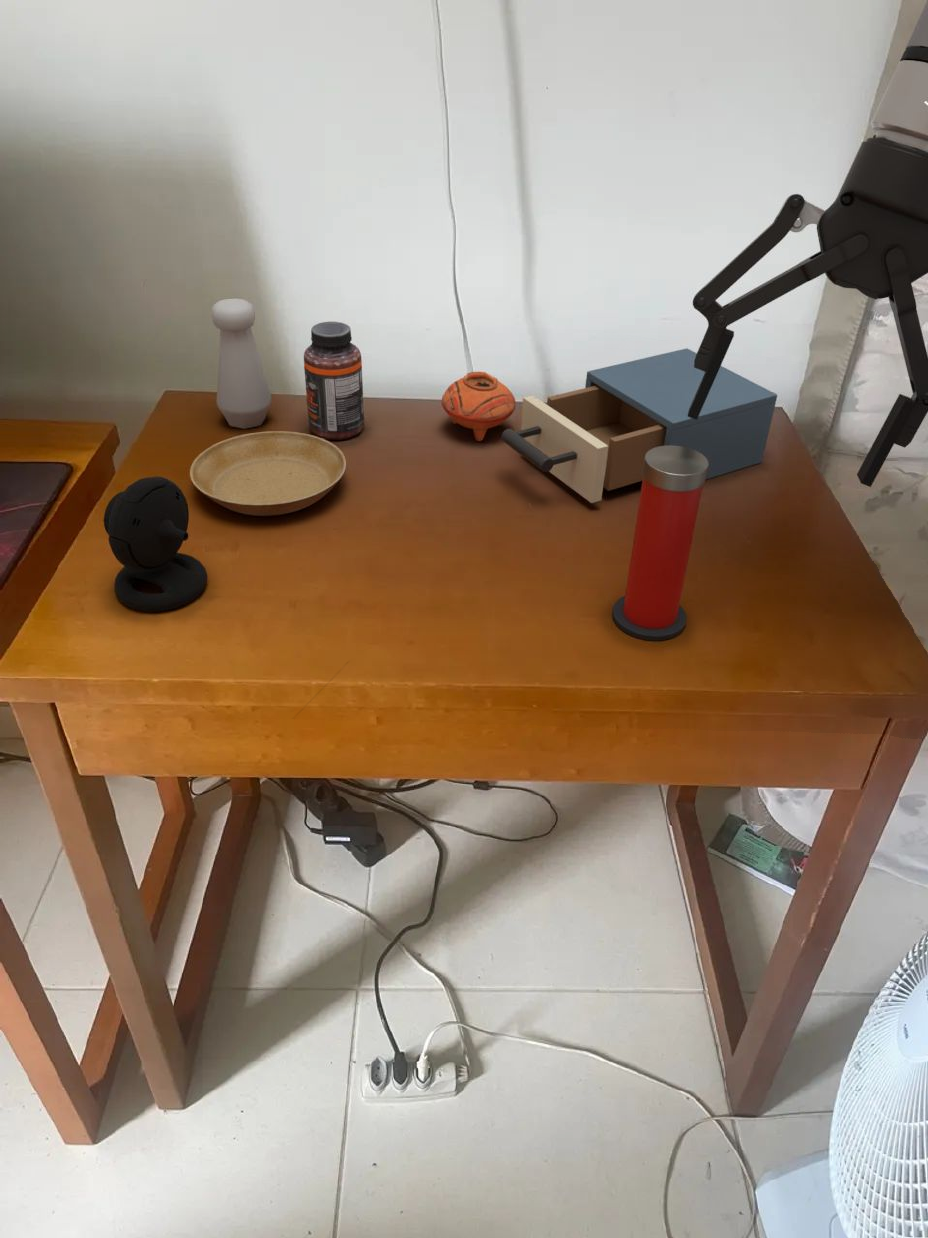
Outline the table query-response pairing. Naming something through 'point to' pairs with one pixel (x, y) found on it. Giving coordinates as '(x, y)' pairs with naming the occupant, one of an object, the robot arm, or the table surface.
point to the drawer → (586, 439)
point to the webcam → (153, 545)
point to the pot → (478, 402)
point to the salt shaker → (239, 366)
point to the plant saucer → (268, 472)
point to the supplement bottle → (333, 382)
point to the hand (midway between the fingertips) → (777, 447)
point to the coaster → (645, 632)
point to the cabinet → (666, 392)
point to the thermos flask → (663, 534)
